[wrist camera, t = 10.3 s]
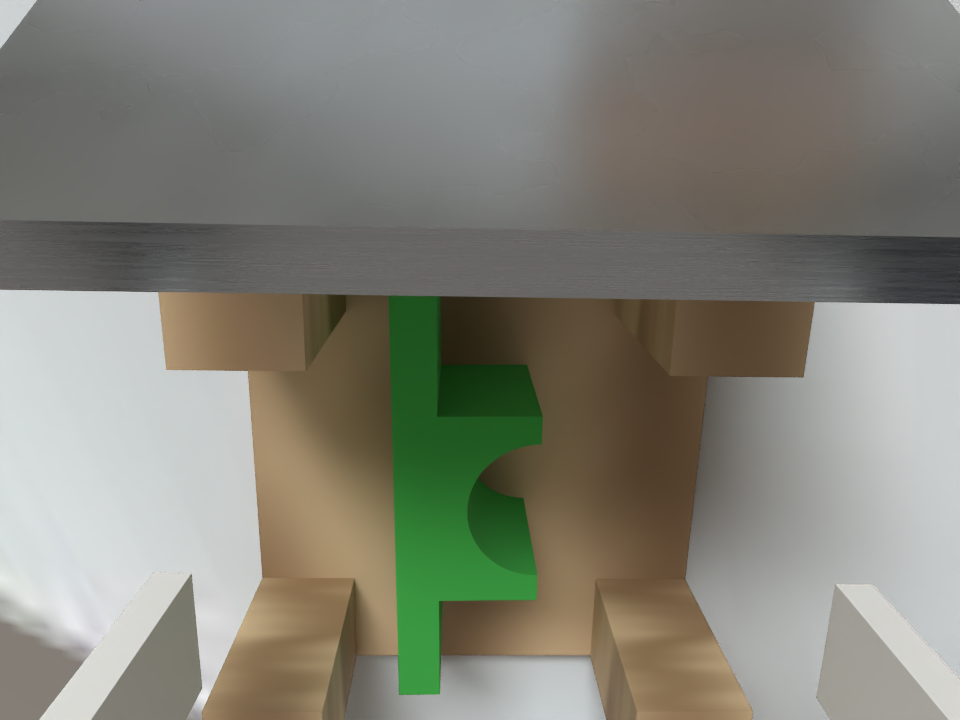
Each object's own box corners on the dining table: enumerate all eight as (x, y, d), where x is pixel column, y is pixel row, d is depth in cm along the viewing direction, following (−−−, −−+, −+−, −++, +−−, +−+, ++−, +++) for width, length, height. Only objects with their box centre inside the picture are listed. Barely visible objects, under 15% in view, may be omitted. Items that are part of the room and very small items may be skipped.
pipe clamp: (521, 596, 25) (533, 694, 21) (409, 596, 25) (398, 696, 20) (530, 265, 22) (547, 299, 17) (401, 264, 22) (386, 298, 17)
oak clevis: (742, -47, 20) (880, -139, 14) (668, 636, 27) (739, 803, 20) (228, -63, 20) (111, -165, 13) (275, 636, 26) (211, 806, 19)
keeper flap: (837, -39, 14) (864, -108, 13) (1079, 311, 9) (1156, 233, 8) (152, -59, 14) (131, -133, 13) (-68, 294, 8) (-134, 209, 7)
